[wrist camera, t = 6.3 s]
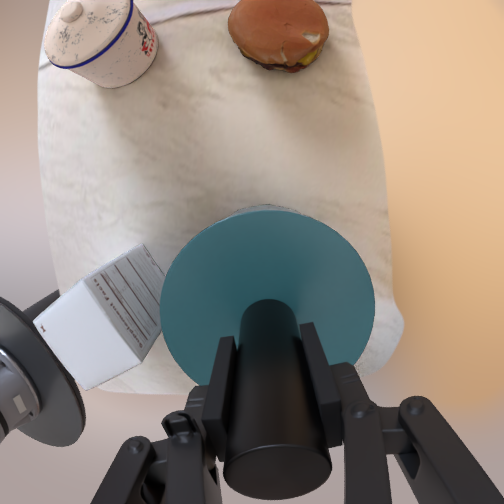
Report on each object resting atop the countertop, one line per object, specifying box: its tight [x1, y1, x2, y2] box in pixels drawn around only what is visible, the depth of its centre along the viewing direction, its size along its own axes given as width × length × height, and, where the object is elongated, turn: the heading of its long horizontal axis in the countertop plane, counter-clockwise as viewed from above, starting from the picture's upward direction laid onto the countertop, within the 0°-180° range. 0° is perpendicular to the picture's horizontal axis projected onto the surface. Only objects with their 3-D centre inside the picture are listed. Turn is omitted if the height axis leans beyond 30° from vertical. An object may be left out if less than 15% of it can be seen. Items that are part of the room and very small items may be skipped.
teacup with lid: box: [44, 0, 158, 88], centre depth 20 cm, size 12×9×12 cm
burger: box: [228, 0, 329, 73], centre depth 23 cm, size 10×9×5 cm
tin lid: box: [160, 210, 375, 500], centre depth 14 cm, size 15×15×13 cm
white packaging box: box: [33, 244, 165, 391], centre depth 25 cm, size 7×7×13 cm
